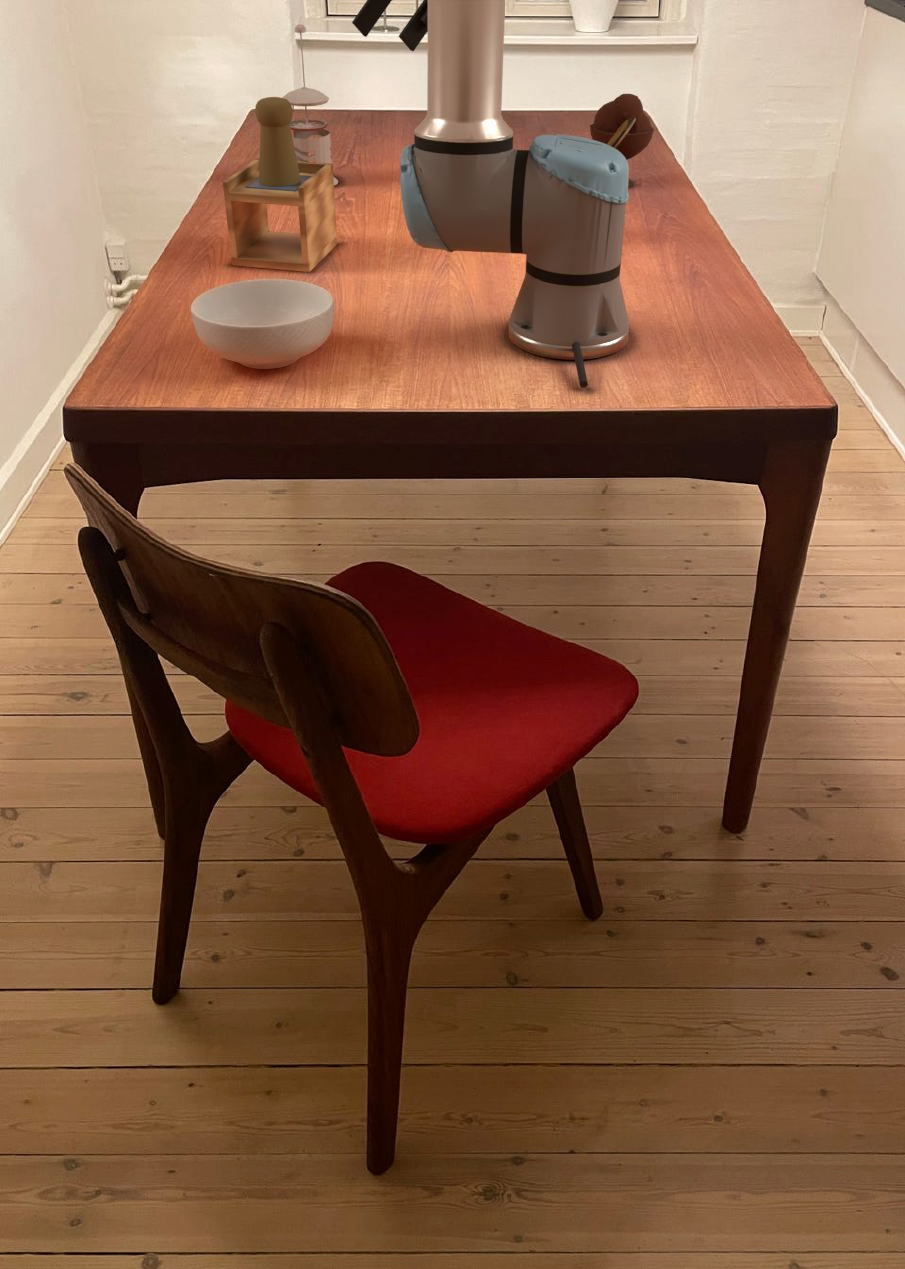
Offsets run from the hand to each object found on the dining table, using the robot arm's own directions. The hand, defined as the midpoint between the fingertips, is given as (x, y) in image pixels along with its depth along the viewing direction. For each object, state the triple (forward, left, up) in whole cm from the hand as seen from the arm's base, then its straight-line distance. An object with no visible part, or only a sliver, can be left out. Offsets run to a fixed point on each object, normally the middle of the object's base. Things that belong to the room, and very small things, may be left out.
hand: (381, 36), depth 158 cm
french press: (+27, +22, -28) cm, 45 cm away
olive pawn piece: (-12, +12, -17) cm, 25 cm away
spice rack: (-12, +12, -28) cm, 33 cm away
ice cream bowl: (+39, -32, -28) cm, 57 cm away
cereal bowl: (-48, +1, -28) cm, 56 cm away
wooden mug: (+7, -30, -28) cm, 41 cm away
